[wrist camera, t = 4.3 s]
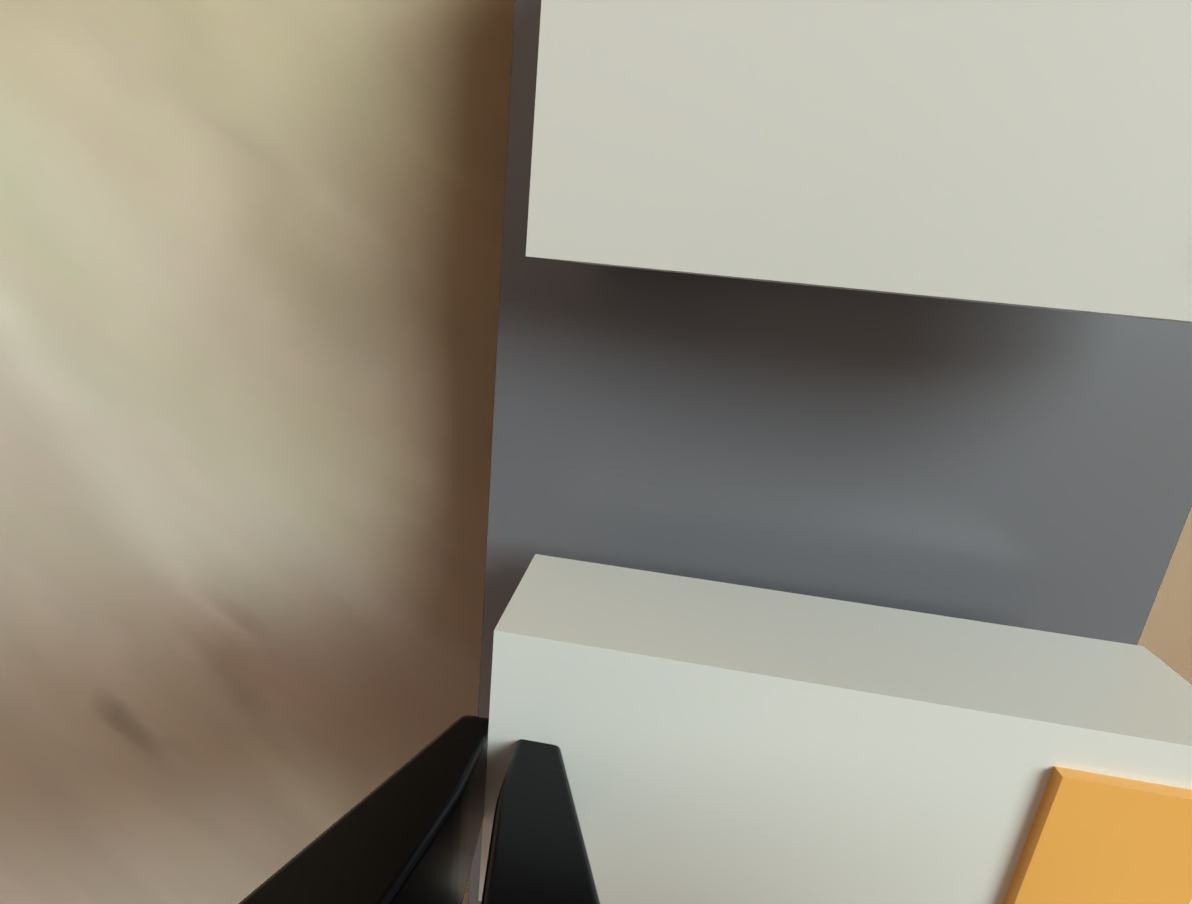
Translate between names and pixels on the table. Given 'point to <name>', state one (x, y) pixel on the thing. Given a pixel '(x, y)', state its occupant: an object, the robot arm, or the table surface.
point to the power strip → (828, 437)
